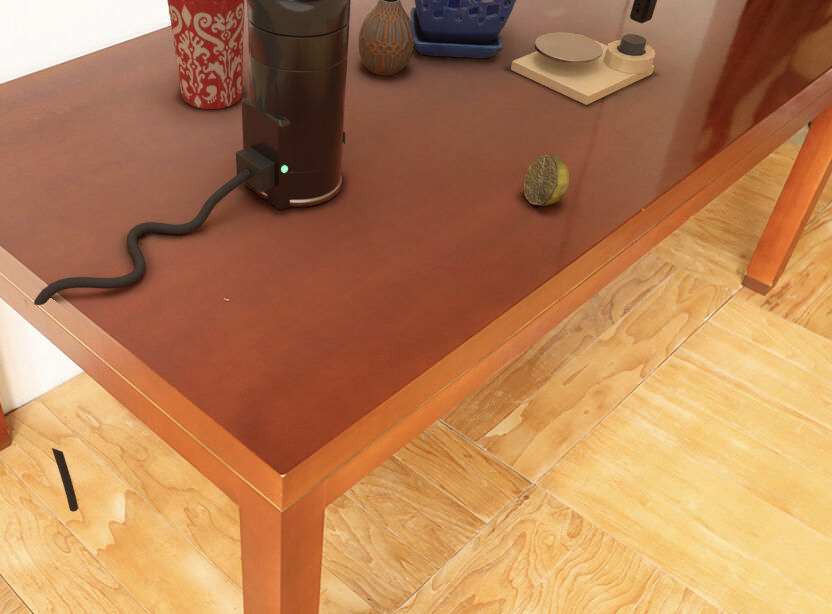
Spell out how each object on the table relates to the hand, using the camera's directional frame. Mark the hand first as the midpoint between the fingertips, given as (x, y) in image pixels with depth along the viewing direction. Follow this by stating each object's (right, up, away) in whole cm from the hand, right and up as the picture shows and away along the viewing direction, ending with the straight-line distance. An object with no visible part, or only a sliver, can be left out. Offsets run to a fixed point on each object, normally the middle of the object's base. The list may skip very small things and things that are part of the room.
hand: (639, 20), depth 105 cm
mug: (-52, -9, -2) cm, 53 cm away
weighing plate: (-8, -3, +2) cm, 9 cm away
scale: (-6, -5, +4) cm, 9 cm away
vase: (-32, -5, +3) cm, 32 cm away
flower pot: (-22, +1, +9) cm, 24 cm away
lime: (-17, -26, -17) cm, 36 cm away
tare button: (0, -3, +3) cm, 4 cm away
